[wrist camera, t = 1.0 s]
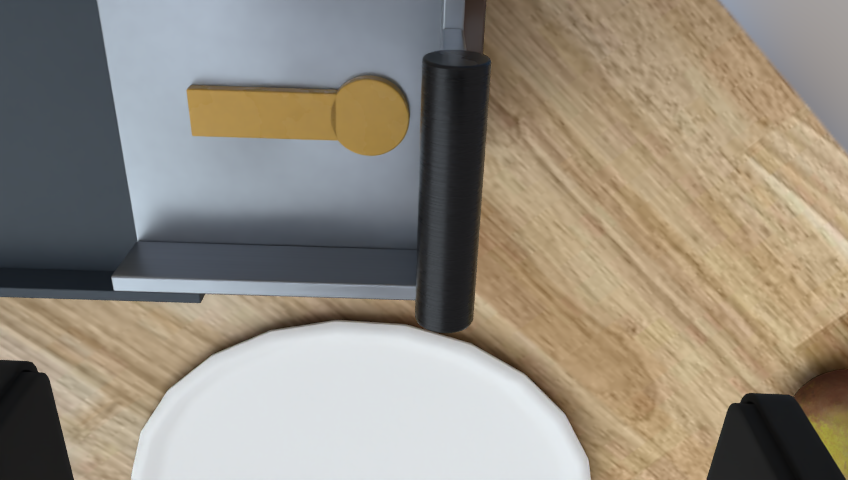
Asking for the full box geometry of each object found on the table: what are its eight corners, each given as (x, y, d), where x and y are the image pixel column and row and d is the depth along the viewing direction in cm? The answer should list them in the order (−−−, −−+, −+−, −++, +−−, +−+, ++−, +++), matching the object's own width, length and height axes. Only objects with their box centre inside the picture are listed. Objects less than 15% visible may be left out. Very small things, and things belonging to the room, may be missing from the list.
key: (188, 69, 24) (183, 72, 24) (410, 75, 24) (410, 80, 24) (197, 145, 25) (193, 151, 25) (409, 152, 26) (408, 157, 25)
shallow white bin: (144, 247, 28) (49, 381, 21) (90, -82, 23) (-60, -45, 16) (461, 257, 28) (470, 394, 21) (481, -69, 23) (501, -27, 16)
